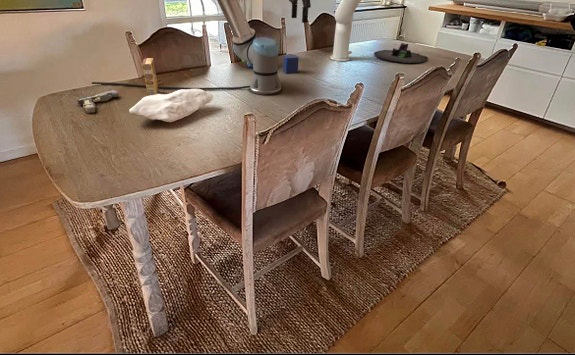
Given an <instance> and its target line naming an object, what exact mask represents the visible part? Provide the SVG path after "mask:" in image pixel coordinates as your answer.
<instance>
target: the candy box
mask: <svg viewBox="0 0 575 355" xmlns="http://www.w3.org/2000/svg"><path fill="white" fill-rule="evenodd" d="M141 66H142V73H143V78H144V82H145V85H146V87H145V88H146V92H147V96H150V95H156V94H159V91H160V90H159V88H158V86H159V84H158V79H157V73H156V66H155V62H154V58H153V57H151V58H150V57H149V58H146V57H145V58H143V60H142V63H141Z"/></svg>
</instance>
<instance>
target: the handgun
mask: <svg viewBox="0 0 575 355" xmlns="http://www.w3.org/2000/svg"><path fill="white" fill-rule="evenodd" d="M119 96H120V94H119V92H118V91H117V90H116V89H112V90H108V91H105V92H104V91H103V92H101V93H96V94H94V95H86V94H85V95H84V94H83V95H81V96H80V97H77V98H76V101H77V104H78V105H82V108H83V109H84V110H85V113H87V114H91V113H95V112H96V104H95V103H98V102H106V101H109V100H111V99H113V98H117V97H119Z"/></svg>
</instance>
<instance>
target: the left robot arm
mask: <svg viewBox="0 0 575 355" xmlns="http://www.w3.org/2000/svg"><path fill="white" fill-rule="evenodd" d="M216 1H217V3H218V5H219V7H220V10H221V12H222V14H223V17H224V18H225V21H226V23H227V25H228V27H229V29H230V30H231V33H232V43H233V45H232V48H233V52H234V54H235V55H236V56H237V58H238V59H240V60H241V61H242V60H244V61H245V62H246V63H247V62H249V63H251V64H253V68H252V69H253V70H252V77H251V81H250V83H249V85H244V86H243V85H242V86H222V87H220V86H219V87H218V86H217V87H188V86H187V87H182V86H162V85H158V89H167V90H181V89H202V90H204V91H208V90H209V91H210V90H214V91H215V90H241V89H249V91H250V92H251V93H253V94H255V95H261V96H271V95H277V94H279V93H281V92H282V85H281V81H280V78H279V52H280V50H279V44H278V42H277V41H276V40H275V39H273V38H270V37H265V36H264V37H263V36H261V37H260V36H259V37H258V35H257V32H256V30H255V29H254V28H252V27H250V24H249V22H248V19H247V18H246V15H245V12H244V10H243V8H242V6H241V4H240V1H239V0H216ZM298 1H299V0H290V1H289V2H290V3H291V19H297V17H298ZM301 2H302V12H301V23H302V24H307V23H308V18H309V10H310V8H311V7H312V4H311V0H301ZM91 84H92V85H113V86H127V87H128V86H129V87H139V88H146V84H138V83H125V82H109V81H107V82H105V81H92V82H91Z"/></svg>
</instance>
